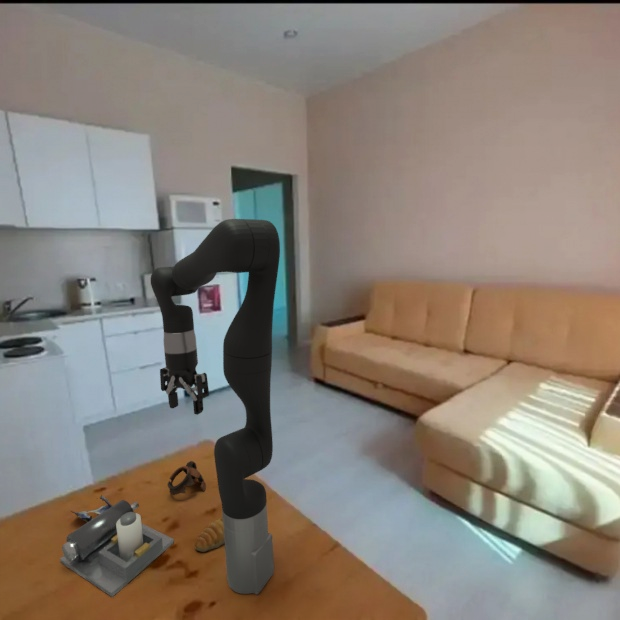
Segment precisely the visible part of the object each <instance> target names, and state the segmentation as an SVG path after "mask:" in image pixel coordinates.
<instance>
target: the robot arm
mask: <svg viewBox="0 0 620 620" xmlns="http://www.w3.org/2000/svg"><path fill="white" fill-rule="evenodd" d="M280 242H281V241H280V236H279V232H278V229H277V228H276V226H275V225H274V223H272V222H271V221H269V220H265V219H253V218H252V219H251V218H230V219H229V218H228V219H225V220H223V221H220V222H219V223H217V225H215V226H214V227H213V228H212V229H211V230H210V232H209V233H208V234H207V235H206V237H205V238H204V239H203V240H202V241H201V242H200V244H199V245H198V246H197V248H195V250H194V251H193V252H191V253H190V254H188V255H187V256H185V257H183V258H182V259H180V260H178V261H177V262H176V263H175V264H174V266H162V267H161V266H160V267H157V268H155V269H154V270H153V271H152V272H151V275H150V286H151V288H152V289H151V290H152V292H153V294H154V297H155V298H156V301H157V304H158V306H159V309H160V313H161V317H162V329H163V351H164V359H165V367H162V368H159V375H160V376H159V377H160V379H159V380H160V381H159V382H160V390H161V391H162V392H166V394H167V396H168V405H169V408H170V409H175V408H176V407H178V406H179V399H178V398H179V395H178V392H177V390H178V389H183V390H185V391H186V393H187V394H189V395H190V396H191V398H192V399H193V400H192V403H193V405H192V406H193V414H194V415H196V416H197V415H199V414H202V413H203V411H204V399H205V398H208V397H209V396H210V391H209V390H210V389H209V382H208V375H207V373H206V372H202V373H198V372H197V369H196V368H197V366H198V364H199V360H198V348H197V337H196V333H195V325H194V324H195V323H194V314H193V313H194V312H193V308H192V307H191V306H189V305H185V304H177V303H175V302H174V300H173V298H172V297H180V296H187V295H188V296H189V295H191V294H195V293H196V292H197V291H198V289H199V288H200V287H202V286H205V285H207V284H209V283H210V282H212V281H213V280H214V279H215V277H216V276H217V274H218V273H234V274H241V273H248V279H247V287H246V292H245V295H244V298H243V301H242V303H241V305H240V307H239V308H238V310H237V312H236V314H234V315H235V316H234V317H233V319H232V321H231V323H230V324H229V327H228V328H227V331H226V333H225V335H224V339H223V346H222V347H223V348H222V355H223V356H222V359H223V362H222V363H223V364H222V365H223V367H222V368H223V369H222V370H223V376H224V378H225V380H226V382H227V383H228V385H229V387H230V389H232V391H233V392H234V394H236V396H237V397H238V398H239V400H240V402H242V404H243V406H244V409H245V413H246V414H245V415H246V416H245V417H246V419H245V420H246V421H245V426H244V427H242V428H240V429H237V430H235V431H233V432H230V433H228V434H225V435H223V436H221V437H219V438H217V440H216V442H215V443H214V449H213V454H214V457H213V458H214V464H215V465H214V466H215V469H216V470H215V471H216V477H217V486H218V487H217V488H218V493H219V498H220V501H221V511H222V517H223V529H224V542H225V543H224V553H225V555H224V556H225V566H226V568H225V569H226V580H227V584H228V586H229V588H230V589H231V590H232V591H233V592H235V593H237V594H243V595H248V594H255V595H259V594H260V593H261V591H262V590H263V589H264V587H265V585H266V584H267V583H268V581H269V580H270V578H272V576H273V575H274V572H275V565H274V564H275V563H274V547H273V545H274V542H273V534H272V533H270V532H269V524H268V522H269V521H268V505H267V503H268V502H267V490H266V488H265V486H264V485H263V484H262V483H261V482H259V481H257V480H255V479H251V478H250V479H249V477H250V476H252V475H255V474H257V473H258V472H260V471H263V470H264V469H265V468H266V467H268V466H269V465H270V464H271V460H272V458H273V451H274V449H273V448H274V446H273V430H272V417H271V416H272V415H271V382H272V381H271V377H272V367H273V365H272V361H273V323H274V322H273V320H274V318H273V317H274V307H275V306H274V305H275V296H276V289H277V288H276V287H277V281H278V273H279V265H280V255H281V253H280V252H281V243H280ZM196 393H197V394H196Z"/></svg>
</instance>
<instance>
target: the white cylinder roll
mask: <svg viewBox="0 0 620 620" xmlns="http://www.w3.org/2000/svg"><path fill="white" fill-rule="evenodd" d="M141 516H142V515H141V514H139V513H137V512H128V513H125V514H124V515H122V516H121V518H120V519H119V520H118V521H117V523H116V528H117V537H118V545H119V553H120V558H121V559H122V560H124V561H126V562H128V561H129V560H130V559H131V558H132V557H134V556H135V554H134V552H135V551H136V550H137V549H139V548H140V547H141V546H142V545H143V534H142V525H141V523H142V519H141V518H142V517H141Z"/></svg>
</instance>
